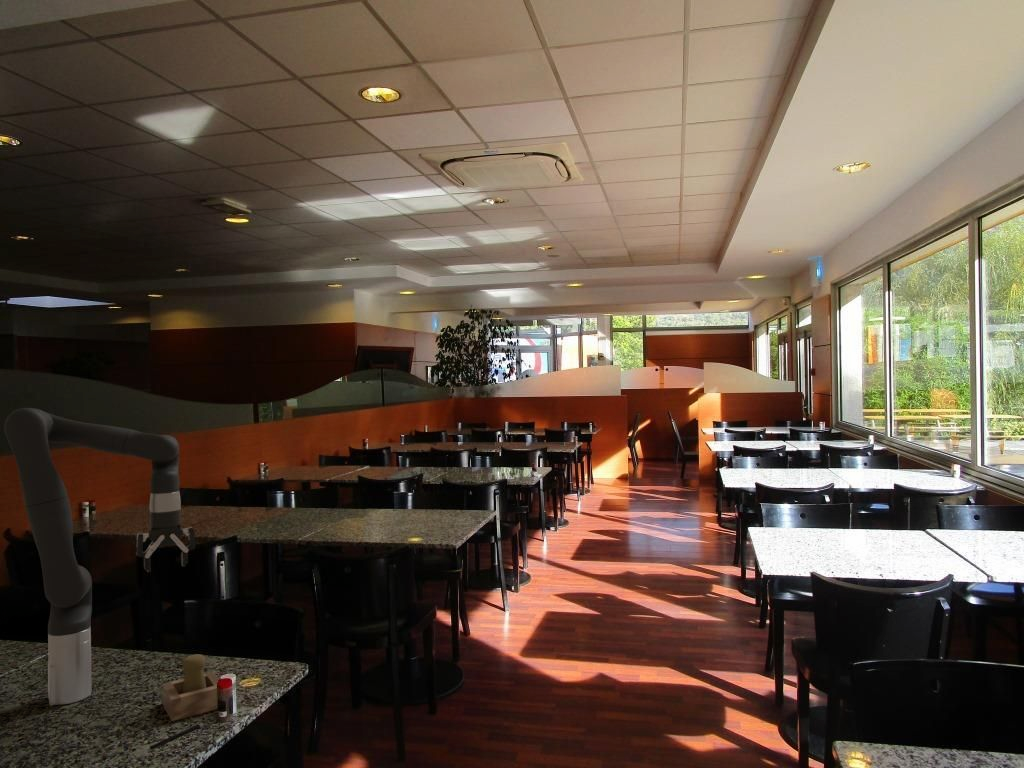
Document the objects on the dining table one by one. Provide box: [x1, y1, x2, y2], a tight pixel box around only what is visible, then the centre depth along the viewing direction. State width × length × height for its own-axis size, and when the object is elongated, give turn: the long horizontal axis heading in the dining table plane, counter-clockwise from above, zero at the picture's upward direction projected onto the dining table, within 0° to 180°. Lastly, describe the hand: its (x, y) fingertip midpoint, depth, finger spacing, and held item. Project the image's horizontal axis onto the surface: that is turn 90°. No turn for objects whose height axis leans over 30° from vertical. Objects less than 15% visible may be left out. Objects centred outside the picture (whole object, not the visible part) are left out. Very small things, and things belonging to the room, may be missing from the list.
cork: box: [182, 653, 207, 694], centre depth 171 cm, size 6×6×11 cm
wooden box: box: [161, 671, 220, 722], centre depth 171 cm, size 12×12×5 cm
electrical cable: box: [149, 722, 204, 750], centre depth 155 cm, size 12×1×1 cm, turn 148°
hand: (166, 568), depth 187 cm, fingers open, 8 cm apart
